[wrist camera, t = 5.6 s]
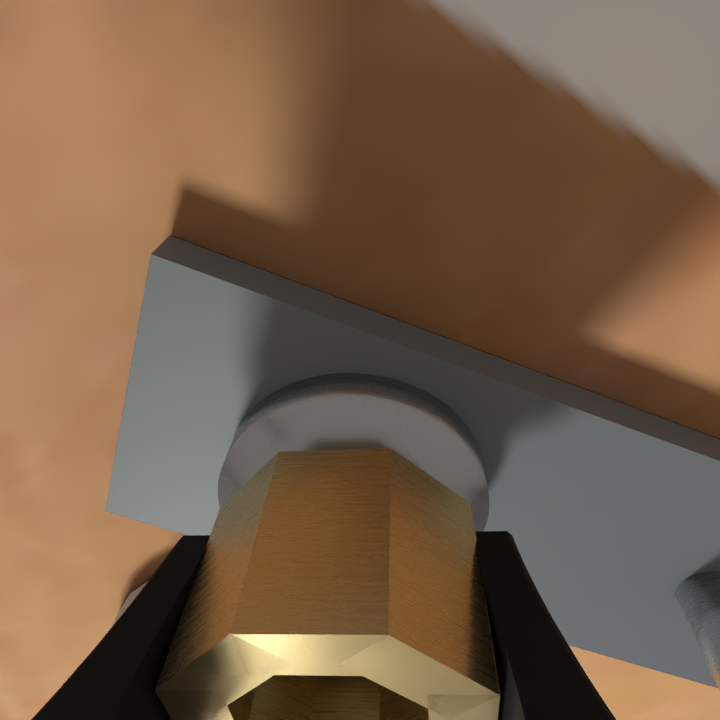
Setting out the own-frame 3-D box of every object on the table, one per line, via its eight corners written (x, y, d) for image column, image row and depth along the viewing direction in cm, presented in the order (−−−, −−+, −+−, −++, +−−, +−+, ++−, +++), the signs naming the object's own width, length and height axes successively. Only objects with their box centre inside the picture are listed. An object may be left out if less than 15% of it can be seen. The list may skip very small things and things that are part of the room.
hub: (532, 427, 12) (593, 611, 8) (418, 582, 15) (425, 765, 11) (268, 334, 11) (203, 493, 7) (205, 519, 14) (139, 696, 10)
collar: (472, 446, 10) (506, 635, 7) (467, 611, 12) (489, 798, 9) (202, 453, 10) (122, 633, 7) (253, 611, 13) (211, 789, 10)
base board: (937, 520, 14) (972, 553, 13) (726, 663, 18) (742, 695, 17) (169, 235, 11) (151, 254, 10) (121, 483, 15) (104, 511, 14)
